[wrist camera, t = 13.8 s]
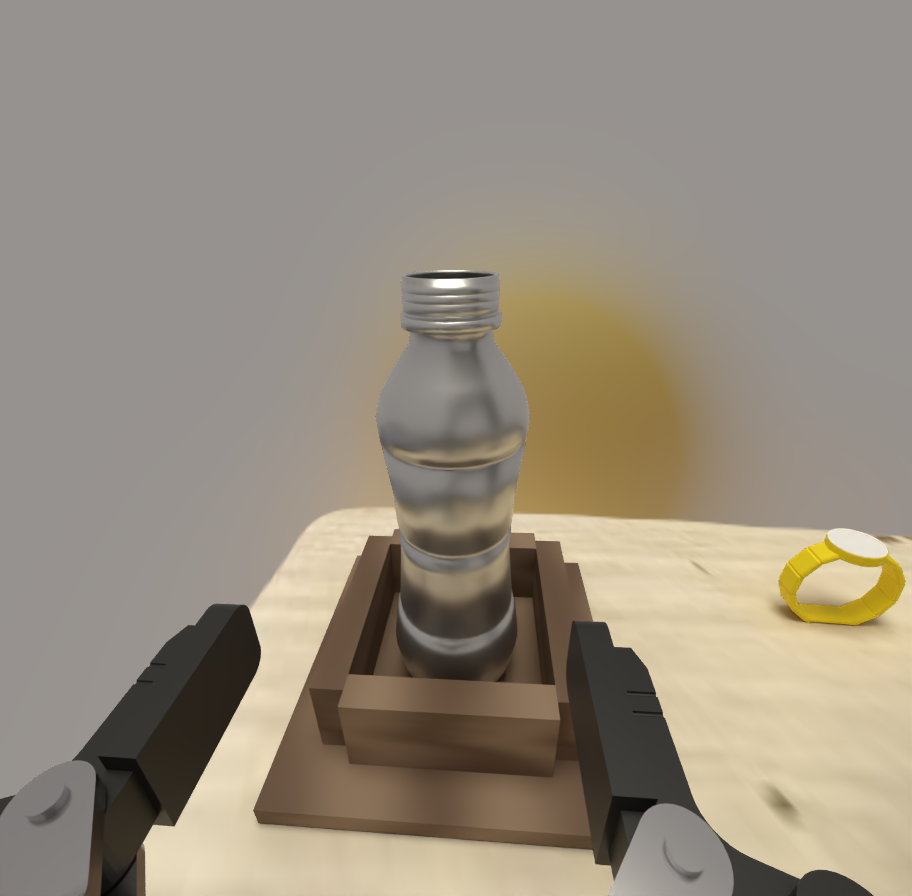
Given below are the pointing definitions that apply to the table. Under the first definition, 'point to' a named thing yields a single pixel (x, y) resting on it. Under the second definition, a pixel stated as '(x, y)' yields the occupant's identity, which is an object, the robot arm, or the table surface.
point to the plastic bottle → (454, 476)
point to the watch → (854, 551)
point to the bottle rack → (437, 720)
